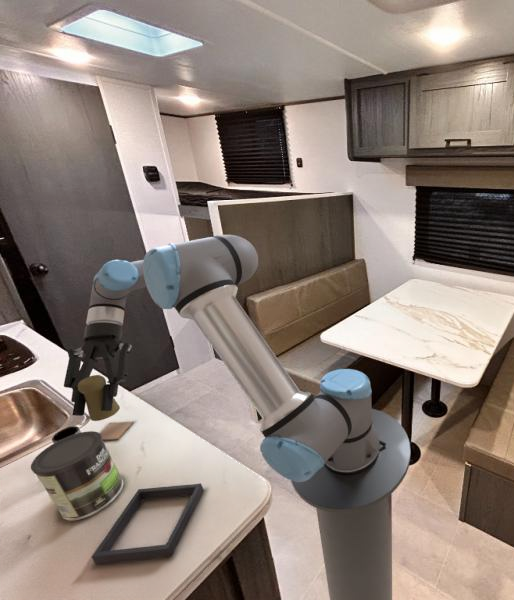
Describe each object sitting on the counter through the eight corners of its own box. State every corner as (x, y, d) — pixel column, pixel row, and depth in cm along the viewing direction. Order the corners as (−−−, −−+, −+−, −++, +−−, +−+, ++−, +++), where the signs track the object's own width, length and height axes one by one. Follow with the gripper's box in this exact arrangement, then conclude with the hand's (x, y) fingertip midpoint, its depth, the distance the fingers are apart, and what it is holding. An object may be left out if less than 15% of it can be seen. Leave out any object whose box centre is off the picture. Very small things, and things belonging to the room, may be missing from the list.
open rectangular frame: (204, 491, 71) (201, 483, 70) (171, 556, 59) (167, 548, 58) (142, 496, 69) (138, 489, 68) (96, 565, 57) (91, 556, 56)
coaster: (133, 422, 89) (132, 421, 89) (118, 439, 84) (117, 438, 84) (110, 424, 89) (109, 423, 88) (93, 441, 83) (93, 440, 83)
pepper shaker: (99, 423, 80) (83, 388, 76) (84, 417, 82) (66, 383, 77) (125, 407, 85) (111, 374, 81) (110, 402, 87) (95, 369, 83)
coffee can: (133, 471, 75) (112, 427, 69) (107, 514, 66) (81, 466, 60) (81, 481, 73) (55, 435, 67) (47, 526, 63) (14, 478, 58)
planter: (69, 477, 74) (50, 444, 70) (70, 464, 77) (51, 432, 73) (95, 465, 76) (78, 433, 72) (95, 453, 79) (78, 423, 75)
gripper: (150, 325, 93) (142, 407, 85) (74, 333, 88) (59, 420, 80) (135, 317, 86) (126, 404, 78) (53, 325, 81) (34, 419, 73)
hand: (92, 412), depth 79 cm, fingers closed on pepper shaker, 5 cm apart
